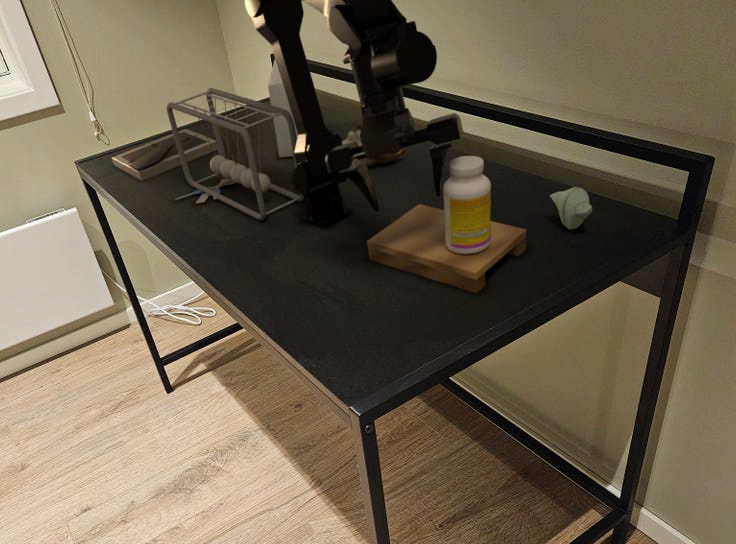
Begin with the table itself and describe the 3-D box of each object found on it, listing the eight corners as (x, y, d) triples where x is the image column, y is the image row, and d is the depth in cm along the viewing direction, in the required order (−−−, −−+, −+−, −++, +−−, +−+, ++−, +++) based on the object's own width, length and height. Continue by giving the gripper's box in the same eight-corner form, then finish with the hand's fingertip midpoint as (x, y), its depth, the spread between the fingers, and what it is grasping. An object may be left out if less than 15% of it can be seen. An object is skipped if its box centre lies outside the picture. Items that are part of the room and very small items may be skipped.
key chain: (232, 177, 143) (231, 173, 142) (251, 187, 137) (250, 183, 136) (174, 201, 137) (173, 197, 137) (192, 212, 132) (191, 208, 131)
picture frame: (142, 181, 149) (219, 149, 158) (138, 169, 148) (216, 137, 156) (114, 165, 160) (188, 136, 168) (110, 154, 158) (184, 125, 167)
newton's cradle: (186, 184, 142) (163, 101, 131) (227, 167, 147) (207, 85, 136) (264, 224, 123) (244, 130, 111) (308, 203, 127) (293, 110, 116)
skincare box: (303, 155, 146) (290, 81, 136) (279, 159, 147) (264, 86, 137) (306, 123, 163) (294, 55, 153) (284, 126, 163) (271, 58, 153)
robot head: (544, 223, 107) (546, 184, 103) (564, 215, 108) (567, 176, 104) (579, 241, 101) (583, 201, 97) (600, 233, 102) (605, 192, 98)
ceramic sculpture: (315, 128, 133) (377, 110, 138) (319, 170, 138) (379, 151, 143) (343, 141, 125) (407, 122, 130) (346, 185, 130) (408, 164, 135)
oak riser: (369, 259, 107) (366, 240, 105) (420, 222, 114) (419, 203, 112) (476, 293, 95) (476, 272, 93) (525, 249, 102) (526, 229, 100)
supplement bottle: (498, 248, 96) (499, 164, 89) (456, 260, 96) (453, 175, 88) (479, 230, 102) (478, 149, 94) (438, 241, 101) (434, 160, 93)
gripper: (299, 120, 85) (333, 234, 91) (442, 76, 78) (468, 203, 84) (321, 108, 95) (351, 212, 101) (450, 68, 88) (474, 183, 94)
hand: (407, 203), depth 95 cm, fingers open, 9 cm apart
